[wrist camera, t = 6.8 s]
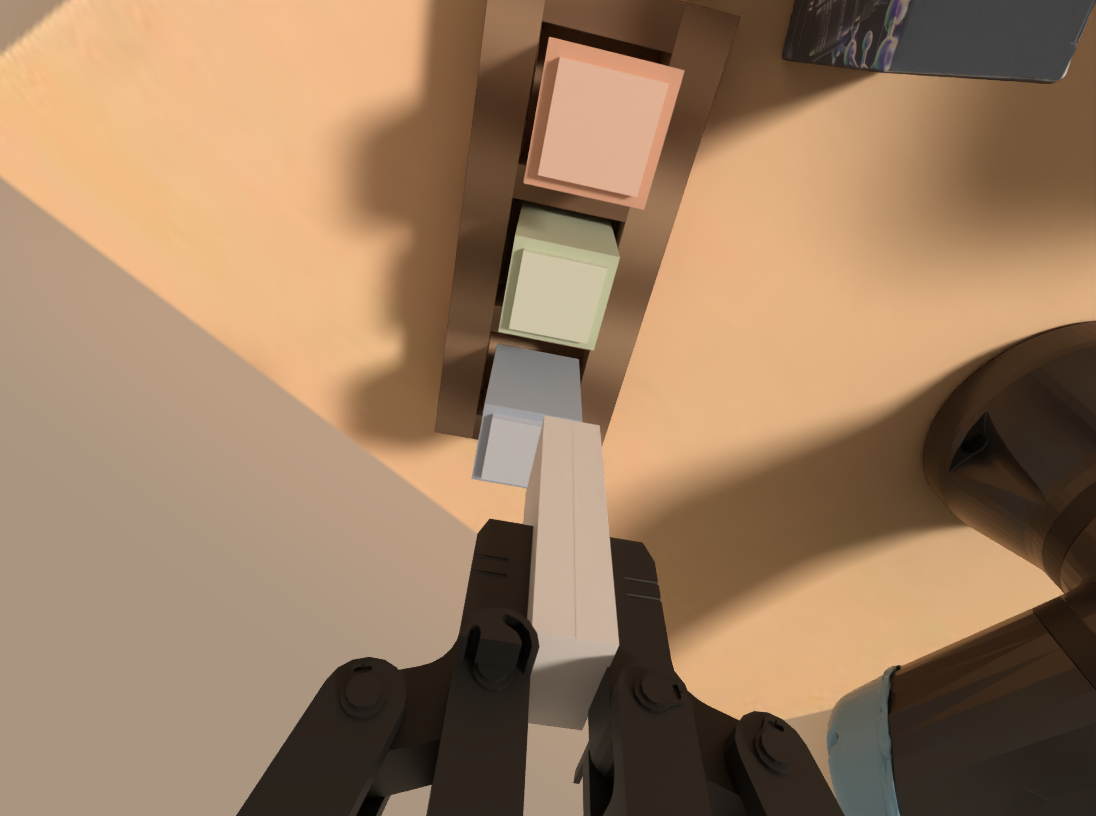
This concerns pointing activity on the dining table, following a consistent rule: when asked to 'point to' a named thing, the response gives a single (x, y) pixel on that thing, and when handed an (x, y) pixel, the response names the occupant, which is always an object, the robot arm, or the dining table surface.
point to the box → (940, 37)
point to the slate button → (523, 410)
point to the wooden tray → (498, 177)
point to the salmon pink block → (600, 123)
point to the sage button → (559, 276)
